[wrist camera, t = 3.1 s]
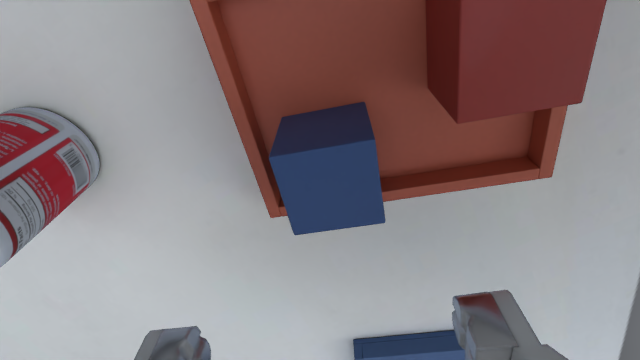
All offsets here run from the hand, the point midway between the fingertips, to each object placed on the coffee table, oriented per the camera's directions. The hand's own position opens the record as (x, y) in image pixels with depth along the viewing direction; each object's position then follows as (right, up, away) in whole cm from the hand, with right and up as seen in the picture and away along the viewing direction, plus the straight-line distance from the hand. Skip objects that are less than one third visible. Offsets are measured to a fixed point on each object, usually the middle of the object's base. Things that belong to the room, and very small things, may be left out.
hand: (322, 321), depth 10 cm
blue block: (+1, +7, +10) cm, 12 cm away
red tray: (+4, +10, +8) cm, 13 cm away
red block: (+8, +12, +6) cm, 16 cm away
